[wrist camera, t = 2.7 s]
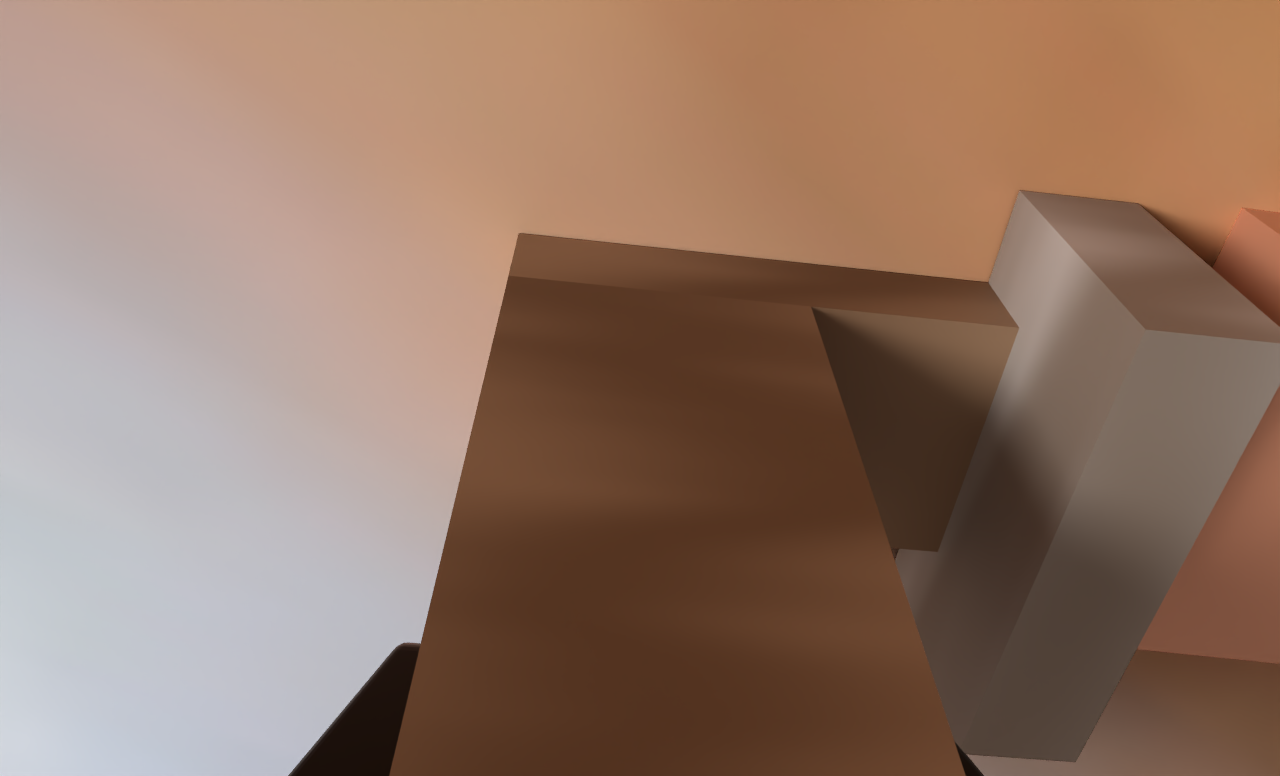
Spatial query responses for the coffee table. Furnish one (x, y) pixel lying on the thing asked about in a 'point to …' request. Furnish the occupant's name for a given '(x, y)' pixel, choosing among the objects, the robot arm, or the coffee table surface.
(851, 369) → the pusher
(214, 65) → the coffee table surface
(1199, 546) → the tile
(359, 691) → the robot arm
